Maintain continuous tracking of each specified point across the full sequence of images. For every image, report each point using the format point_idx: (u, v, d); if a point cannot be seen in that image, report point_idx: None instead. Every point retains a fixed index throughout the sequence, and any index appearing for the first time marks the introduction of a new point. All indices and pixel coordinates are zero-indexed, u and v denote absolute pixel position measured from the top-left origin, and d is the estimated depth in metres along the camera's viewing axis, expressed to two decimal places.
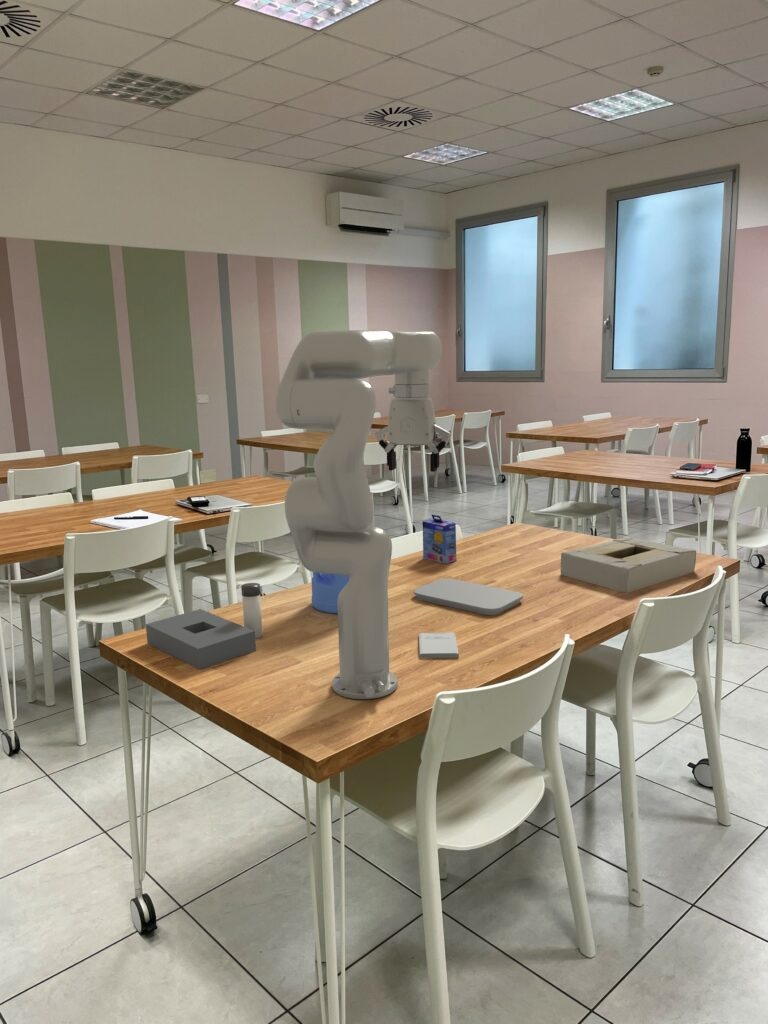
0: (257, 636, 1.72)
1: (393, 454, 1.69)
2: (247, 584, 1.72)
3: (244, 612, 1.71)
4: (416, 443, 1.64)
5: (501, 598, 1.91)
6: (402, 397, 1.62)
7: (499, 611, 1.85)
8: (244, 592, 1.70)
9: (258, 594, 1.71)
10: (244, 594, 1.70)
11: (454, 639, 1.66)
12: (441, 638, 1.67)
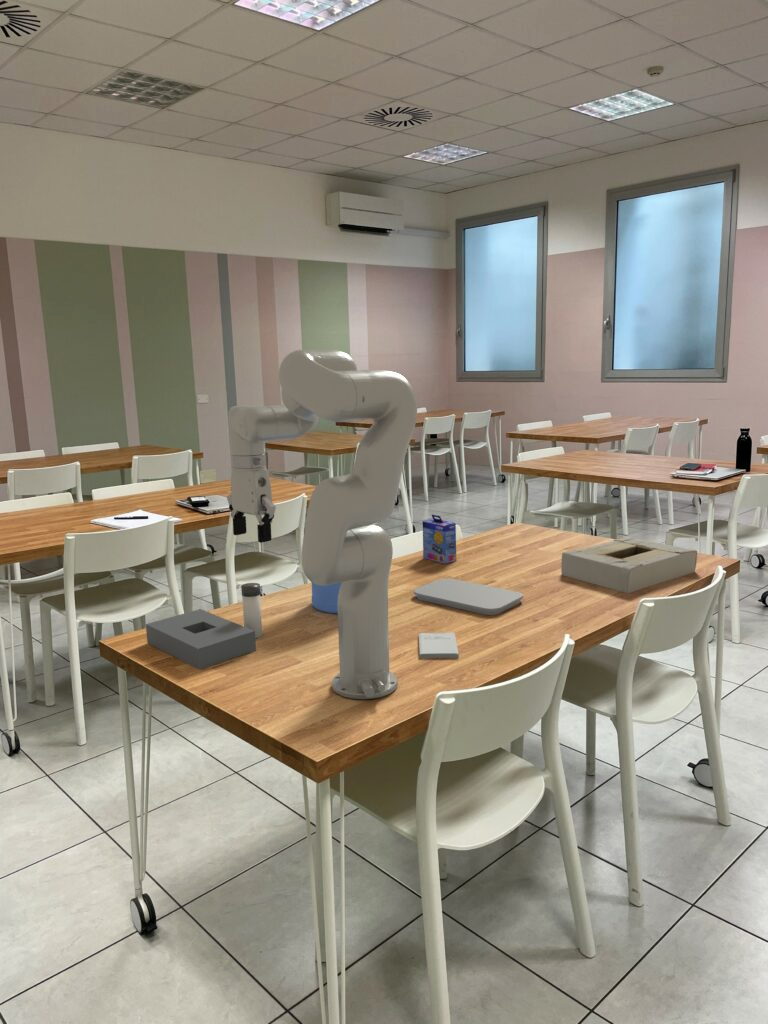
0: (257, 636, 1.72)
1: None
2: (247, 584, 1.72)
3: (244, 612, 1.71)
4: None
5: (501, 598, 1.91)
6: None
7: (499, 611, 1.85)
8: (244, 592, 1.70)
9: (258, 594, 1.71)
10: (244, 594, 1.70)
11: (454, 639, 1.66)
12: (440, 638, 1.67)
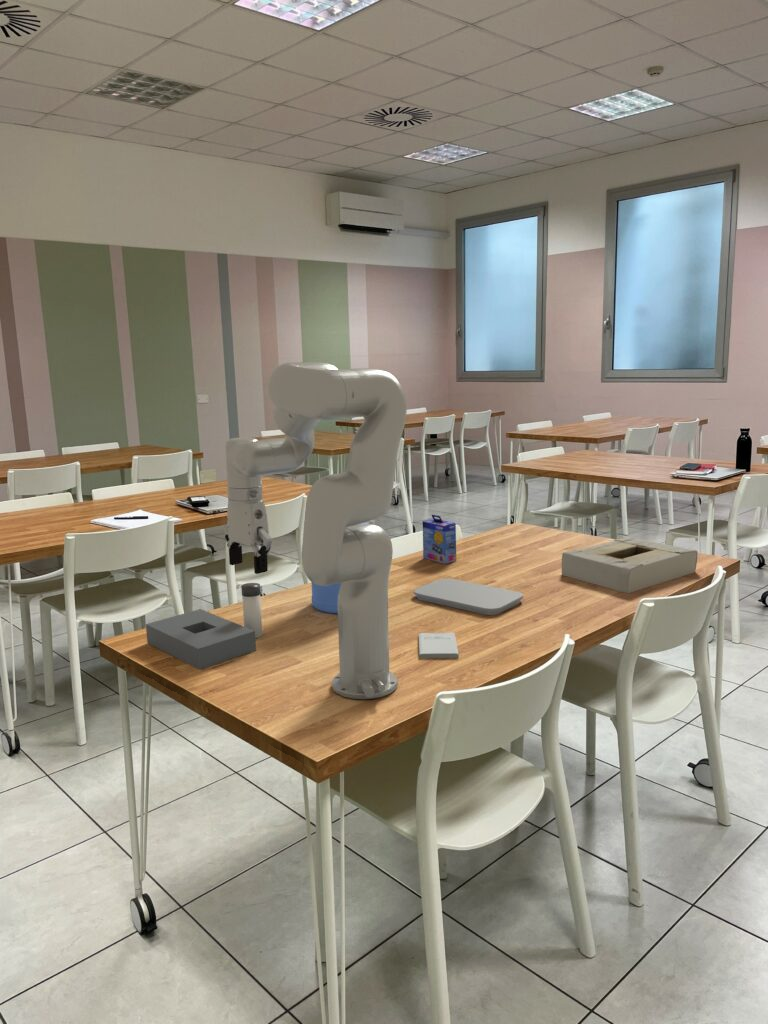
0: (257, 636, 1.72)
1: None
2: (247, 584, 1.72)
3: (244, 612, 1.71)
4: None
5: (501, 598, 1.91)
6: None
7: (499, 611, 1.85)
8: (244, 591, 1.70)
9: (258, 594, 1.71)
10: (244, 594, 1.70)
11: (454, 639, 1.66)
12: (440, 638, 1.67)
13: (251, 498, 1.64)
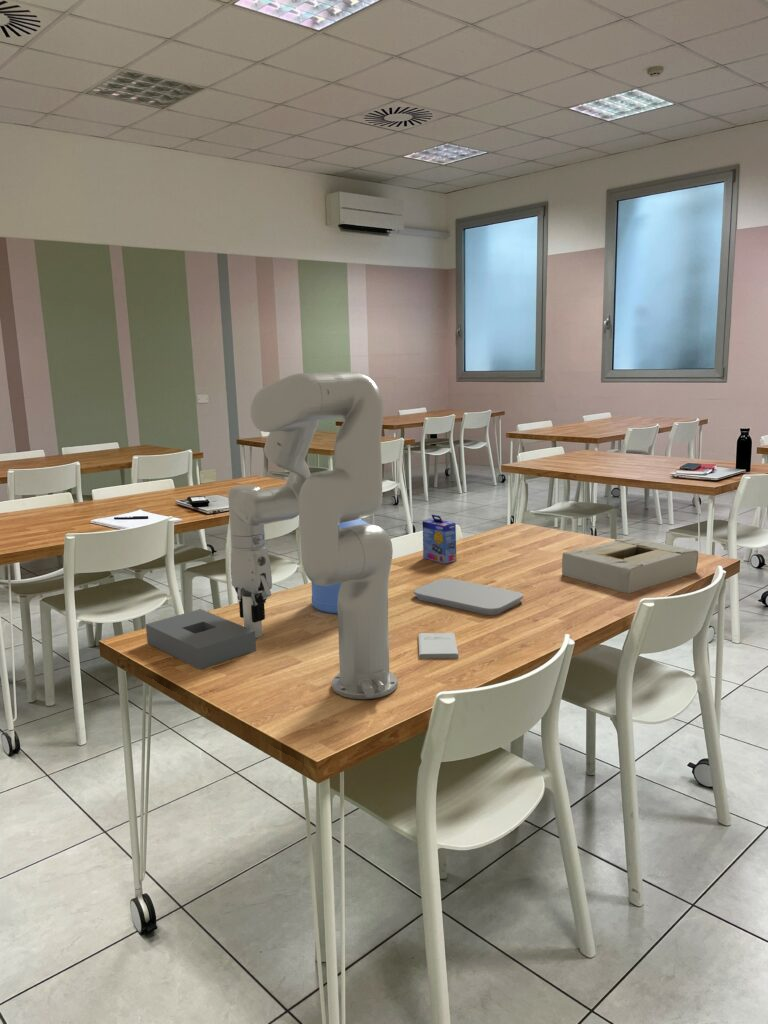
0: (257, 636, 1.72)
1: None
2: None
3: (244, 612, 1.71)
4: None
5: (501, 598, 1.91)
6: None
7: (499, 611, 1.85)
8: (244, 592, 1.70)
9: (258, 594, 1.71)
10: (244, 594, 1.70)
11: (454, 639, 1.66)
12: (440, 638, 1.67)
13: (254, 545, 1.66)
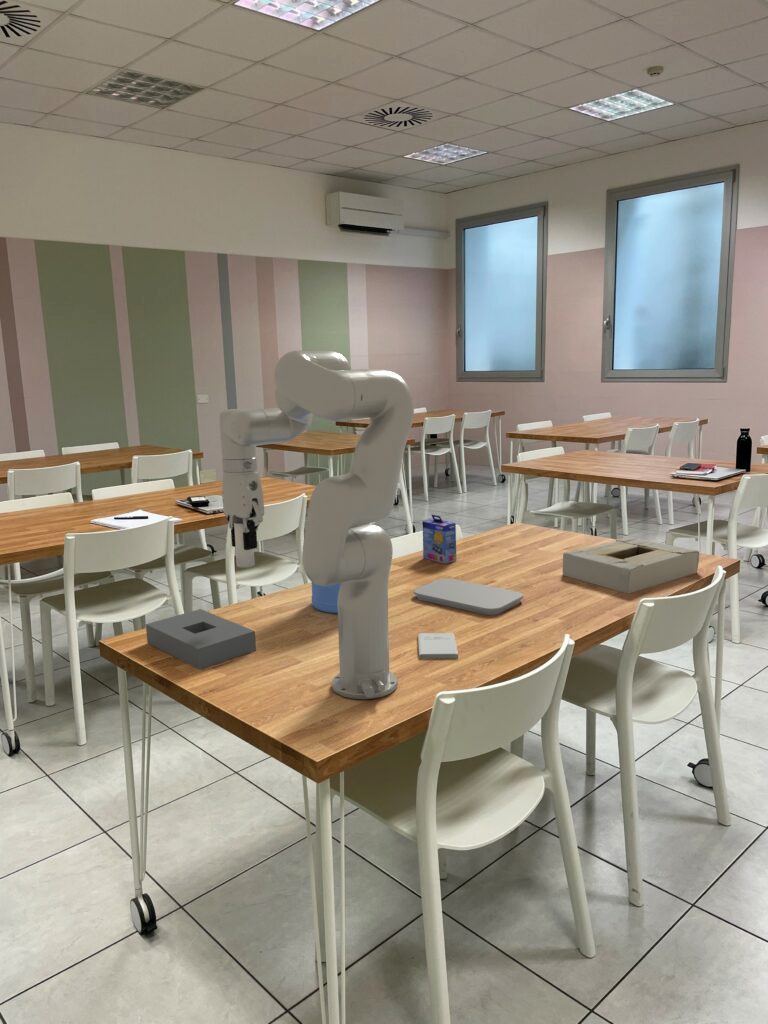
0: (249, 565, 1.68)
1: None
2: None
3: (236, 540, 1.68)
4: None
5: (501, 598, 1.91)
6: None
7: (499, 611, 1.86)
8: (235, 518, 1.66)
9: (250, 521, 1.67)
10: (236, 521, 1.66)
11: (453, 639, 1.66)
12: (440, 638, 1.67)
13: (246, 469, 1.62)
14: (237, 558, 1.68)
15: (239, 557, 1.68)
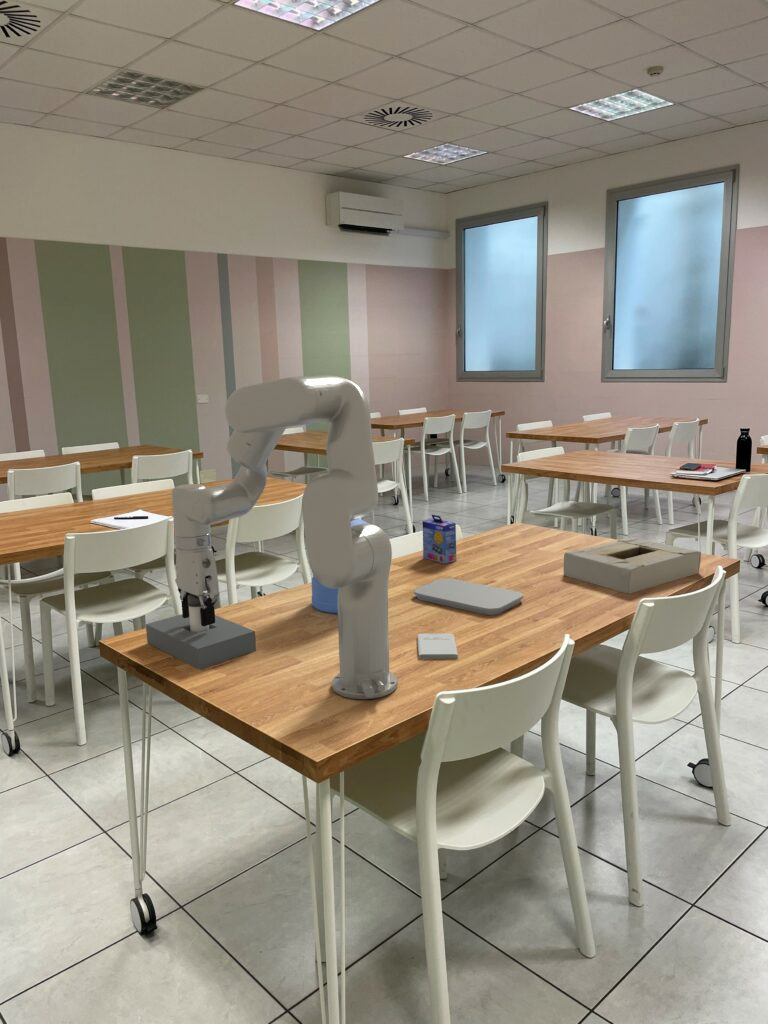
0: None
1: None
2: None
3: (191, 623, 1.65)
4: None
5: (501, 598, 1.91)
6: None
7: (499, 611, 1.86)
8: (190, 601, 1.64)
9: None
10: (190, 604, 1.64)
11: (453, 640, 1.66)
12: (439, 639, 1.67)
13: (198, 547, 1.60)
14: None
15: None
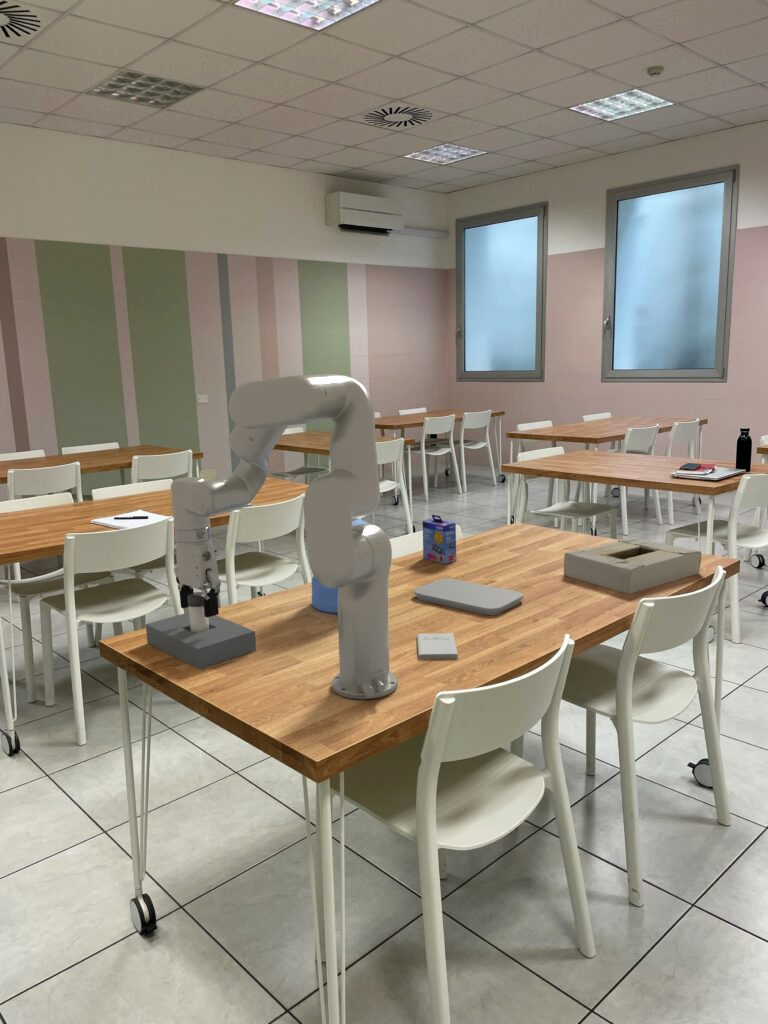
0: None
1: None
2: (194, 593, 1.66)
3: (191, 622, 1.65)
4: None
5: (501, 598, 1.91)
6: None
7: (499, 611, 1.86)
8: (190, 601, 1.64)
9: None
10: (190, 604, 1.64)
11: (453, 640, 1.66)
12: (439, 639, 1.67)
13: (198, 540, 1.59)
14: None
15: None
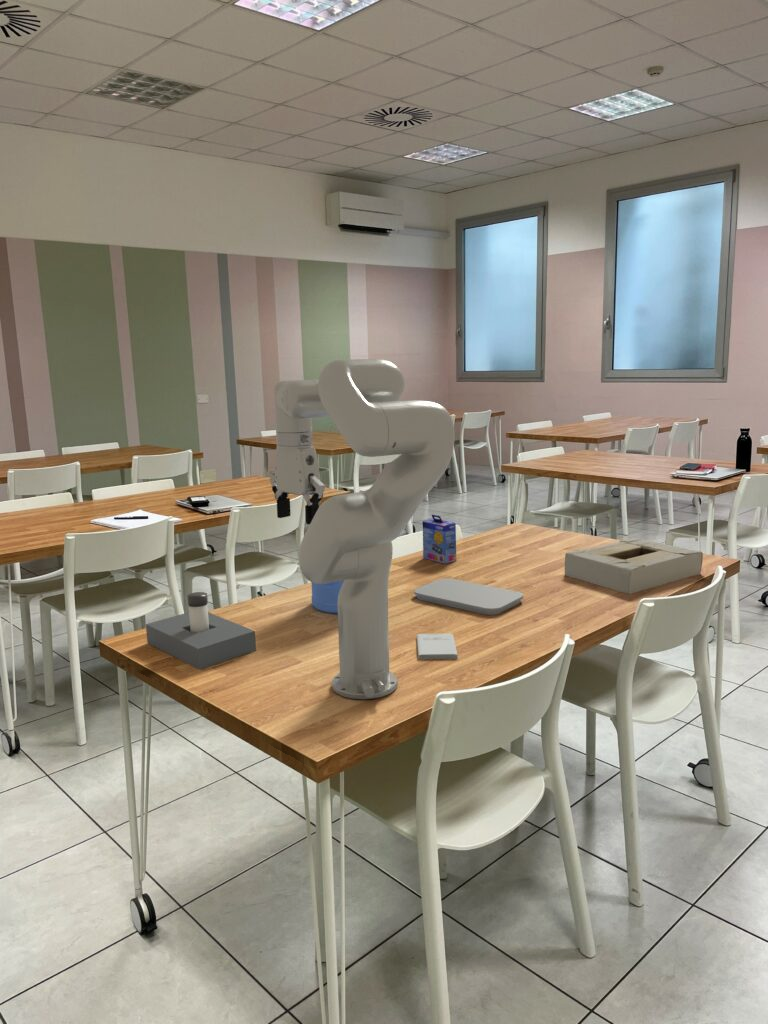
0: None
1: None
2: (194, 593, 1.66)
3: (190, 623, 1.65)
4: None
5: (501, 598, 1.91)
6: None
7: (499, 611, 1.86)
8: (190, 601, 1.64)
9: (205, 604, 1.65)
10: (190, 604, 1.64)
11: (452, 640, 1.66)
12: (439, 639, 1.67)
13: (302, 443, 1.55)
14: None
15: None
